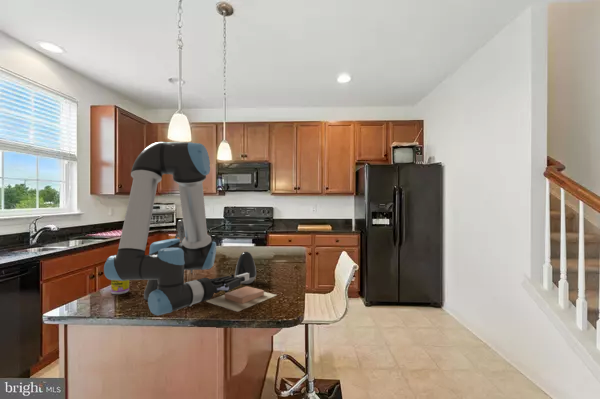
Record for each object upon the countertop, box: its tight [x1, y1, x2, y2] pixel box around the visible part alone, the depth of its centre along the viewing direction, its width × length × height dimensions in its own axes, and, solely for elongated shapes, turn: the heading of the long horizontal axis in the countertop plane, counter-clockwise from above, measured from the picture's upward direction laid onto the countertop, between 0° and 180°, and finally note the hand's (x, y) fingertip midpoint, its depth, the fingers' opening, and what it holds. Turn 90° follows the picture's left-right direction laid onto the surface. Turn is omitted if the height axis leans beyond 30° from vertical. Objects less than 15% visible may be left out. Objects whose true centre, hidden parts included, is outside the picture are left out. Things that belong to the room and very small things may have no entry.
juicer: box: [174, 219, 193, 274], centre depth 149 cm, size 10×11×30 cm
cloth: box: [205, 291, 277, 313], centre depth 113 cm, size 22×18×1 cm
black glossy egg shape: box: [234, 251, 257, 285], centre depth 137 cm, size 10×10×15 cm
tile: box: [224, 285, 265, 304], centre depth 114 cm, size 2×10×12 cm
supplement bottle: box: [110, 280, 130, 295], centre depth 122 cm, size 7×7×13 cm
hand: (247, 276), depth 115 cm, fingers closed
